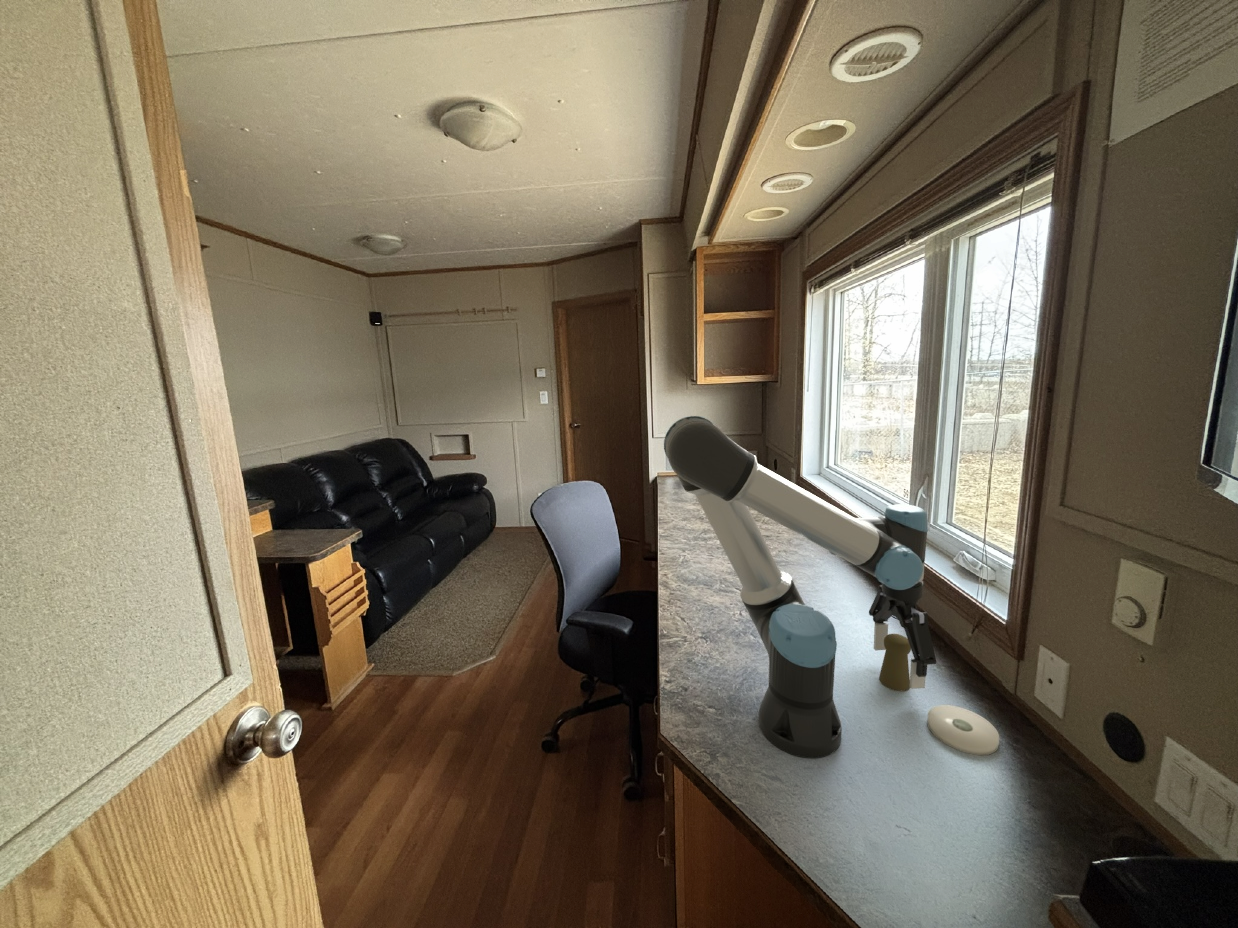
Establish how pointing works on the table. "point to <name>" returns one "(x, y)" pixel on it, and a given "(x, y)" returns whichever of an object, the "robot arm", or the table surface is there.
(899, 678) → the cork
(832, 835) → the table surface
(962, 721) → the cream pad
